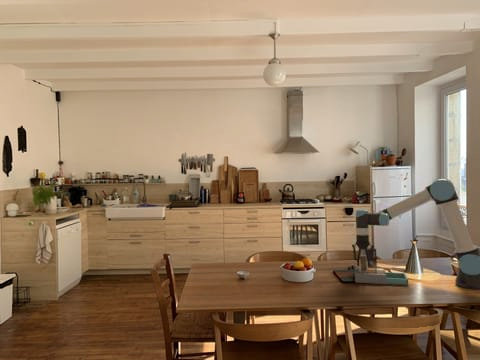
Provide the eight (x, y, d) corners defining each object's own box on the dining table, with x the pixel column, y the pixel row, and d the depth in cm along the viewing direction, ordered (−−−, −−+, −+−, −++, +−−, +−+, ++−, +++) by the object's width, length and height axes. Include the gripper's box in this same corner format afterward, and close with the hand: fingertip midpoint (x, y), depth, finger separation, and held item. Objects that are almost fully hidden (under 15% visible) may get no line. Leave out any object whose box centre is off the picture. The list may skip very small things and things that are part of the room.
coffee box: (374, 270, 248) (374, 247, 247) (377, 273, 241) (376, 249, 241) (361, 270, 249) (360, 247, 248) (363, 273, 242) (362, 249, 242)
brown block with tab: (366, 272, 231) (365, 254, 231) (366, 276, 224) (366, 257, 223) (360, 272, 232) (360, 254, 232) (360, 276, 225) (360, 256, 225)
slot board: (384, 277, 231) (384, 269, 231) (386, 284, 217) (386, 275, 217) (355, 276, 236) (354, 267, 236) (355, 282, 223) (355, 273, 223)
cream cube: (383, 275, 226) (383, 268, 226) (384, 276, 222) (383, 270, 222) (376, 274, 227) (376, 268, 227) (377, 276, 224) (376, 270, 224)
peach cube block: (375, 274, 228) (374, 268, 228) (375, 276, 224) (375, 269, 224) (368, 274, 229) (368, 267, 229) (368, 275, 225) (368, 269, 225)
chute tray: (405, 278, 227) (405, 273, 227) (408, 285, 214) (408, 279, 214) (384, 277, 231) (384, 272, 231) (386, 284, 217) (386, 278, 217)
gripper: (376, 233, 229) (377, 270, 229) (348, 233, 234) (349, 269, 234) (376, 235, 221) (378, 273, 222) (348, 235, 226) (349, 272, 227)
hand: (363, 271), depth 228 cm, fingers closed on brown block with tab, 3 cm apart
